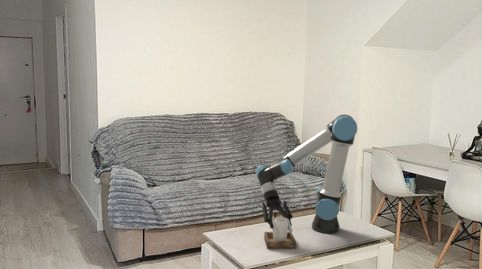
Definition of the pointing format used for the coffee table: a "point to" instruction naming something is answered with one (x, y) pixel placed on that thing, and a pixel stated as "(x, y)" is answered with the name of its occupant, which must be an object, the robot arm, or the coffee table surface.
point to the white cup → (281, 228)
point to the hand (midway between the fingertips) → (283, 233)
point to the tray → (274, 244)
